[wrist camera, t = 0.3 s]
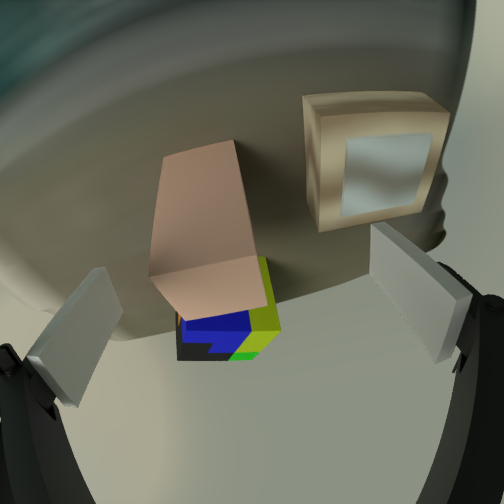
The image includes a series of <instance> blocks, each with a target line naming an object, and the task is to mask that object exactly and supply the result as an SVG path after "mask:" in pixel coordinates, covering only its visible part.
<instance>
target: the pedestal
mask: <svg viewBox="0 0 504 504" xmlns="http://www.w3.org/2000/svg"><path fill="white" fill-rule="evenodd" d="M302 101H303V116H304V135H305V159H306V200H307V205H308V208H309V210H310V213H311V215H312V218H313V220H314V223H315V225H316V228H317V230H318V233H320V232H325V231H330V230H335V229H340V228H345V227H350V226H354V225H359V224H364V223H369V222H374V221H379V220H384V219H389V218H394V217H399V216H404V215H409V214H414V213H419V212H421V211H422V208H423V206H424V203H425V200H426V197H427V194H428V192H429V189H430V186H431V183H432V180H433V177H434V174H435V170H436V167H437V164H438V160H439V157H440V154H441V150H442V146H443V143H444V139H445V135H446V131H447V127H448V123H449V118H450V114H451V113H450V112H449V111H448V110H446V109H445V108H444V107H442V106H441V105H440V104H438V103H437V102H436V101H434V100H433V99H432V98H430V97H429V96H427V95H426V94H424V93H423V92H409V91H353V92H335V93H322V94H311V95H302Z"/></svg>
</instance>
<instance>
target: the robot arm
mask: <svg viewBox="0 0 504 504" xmlns="http://www.w3.org/2000/svg"><path fill="white" fill-rule="evenodd" d="M369 275H370V276H371V277H372V278H373V280H374V281H375V282H376V283H377V285H378V286H379V287H380V288H381V290H382V291H383V292H384V294H385V295H386V296H387V297H388V299H389V300H390V301H391V303H392V304H393V305H394V307H395V308H396V309H397V311H398V312H399V313H400V315H401V316H402V317H403V319H404V320H405V321H406V323H407V324H408V326H409V327H410V328H411V330H412V331H413V333H414V334H415V335H416V337H417V338H418V340H419V341H420V342H421V344H422V345H423V347H424V348H425V350H426V351H427V353H428V354H429V356H430V357H431V358H432V360H433V361H434V363H435V364H437V363H439V362H442V361H444V360H446V359H449V358H451V356H452V354H453V351H454V349H455V346H456V345H457V347H458V348H459V349H460V351H461V353H460V355H459V357H458V360H457V362H456V364H455V366H454V369H453V371H452V373H454V372H455V371H456V376H455V382H454V387H453V392H452V397H451V402H450V406H449V411H448V415H447V419H446V423H445V426H444V430H443V433H442V437H441V440H440V444H439V446H438V449H437V452H436V455H435V458H434V461H433V464H432V467H431V470H430V472H429V475H428V477H427V480H426V482H425V484H424V487H423V489H422V491H421V494H420V496H419V498H418V500H417V502H416V504H500V503H501V499H502V495H503V492H504V299H503V298H501V297H499V296H496V295H490V294H487V295H484V296H483V295H481V294H480V293H479V292H478V291H477V290H476V289H475V288H474V287H473V286H471V285H470V284H469V283H468V282H467V281H466V280H464V279H463V278H462V277H461V276H460V275H459V274H457V273H456V272H455V271H454V270H453V269H452V268H450V267H449V266H447V265H445V264H443V263H441V262H435V261H434V260H433V259H432V258H431V257H429V256H428V255H427V254H426V253H424V252H423V251H422V250H421V249H419V248H418V247H417V246H416V245H414V244H413V243H412V242H411V241H409V240H408V239H407V238H405V237H404V236H403V235H401V234H400V233H399V232H397V231H396V230H395V229H393V228H392V227H391V226H389V225H388V224H387V223H385V222H380V223H373V224H371V242H370V269H369ZM122 313H123V309H122V307H121V304H120V302H119V300H118V297H117V295H116V293H115V290H114V288H113V285H112V283H111V280H110V278H109V275H108V273H107V270H106V268H105V267H100V268H94V269H93V270H92V271H91V272H90V273H89V274H88V275H87V277H86V278H85V279H84V280H83V281H82V282H81V284H80V285H79V286H78V287H77V288H76V290H75V291H74V292H73V293H72V294H71V296H70V297H69V298H68V299H67V301H66V302H65V303H64V304H63V306H62V307H61V308H60V309H59V311H58V312H57V313H56V315H55V316H54V317H53V319H52V320H51V321H50V323H49V324H48V325H47V327H46V328H45V330H44V331H43V332H42V333H41V335H40V336H39V338H38V339H37V340H36V342H35V343H34V345H33V346H32V347H31V349H30V350H29V352H28V353H27V355H26V356H25V358H24V360H23V361H21V359H20V358H19V356H18V355H17V353H16V352H15V350H14V349H13V347H12V346H11V344H9V343H5V344H2V345H1V346H0V418H1V422H0V504H96V503H95V501H94V499H93V497H92V495H91V493H90V491H89V489H88V487H87V485H86V483H85V481H84V478H83V476H82V474H81V472H80V469H79V467H78V464H77V462H76V460H75V457H74V455H73V452H72V449H71V446H70V444H69V441H68V439H67V435H66V432H65V429H64V426H63V423H62V420H61V416H60V413H59V409H58V407H57V405H56V404H55V403H54V400H55V398H56V397H57V398H58V399H59V400H60V401H61V403H62V404H63V405H64V406H68V407H74V408H78V406H79V404H80V401H81V399H82V396H83V394H84V392H85V390H86V388H87V385H88V383H89V381H90V379H91V376H92V374H93V372H94V369H95V368H96V365H97V363H98V361H99V359H100V357H101V355H102V353H103V350H104V349H105V347H106V345H107V342H108V340H109V339H110V337H111V335H112V333H113V331H114V329H115V327H116V325H117V323H118V321H119V319H120V317H121V315H122ZM456 369H457V370H456Z"/></svg>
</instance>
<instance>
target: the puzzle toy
mask: <svg viewBox="0 0 504 504" xmlns="http://www.w3.org/2000/svg"><path fill="white" fill-rule="evenodd" d="M258 259H259V264H260V268H261V273H262V278H263V283H264V288H265V293H266V298H267V303H268V306H264V307H259V308H254V309H249V310H244V311H239V312H234V313H228V314H223V315H217V316H212V317H206V318H200V319H194V320H188V321H185V320H184V319H183V318H182V317H181V316H180V314H179V313H178V312H177V311H176V310H175V311H176V345H177V360H178V361H229V360H230V361H234V360H252V359H253V358H254V357H255V356H256V355H257V354H258V353H259V352H260V351H261V350H262V349H263V348H264V347H265V346H267V345H268V344H269V343H270V342H271V341H272V340H273V338H275V337H276V336H277V335H278V334H279V333H280V332H281V327H280V322H279V317H278V313H277V308H276V303H275V299H274V294H273V290H272V285H271V281H270V276H269V272H268V267H267V262H266V258H265V257H260V256H258Z"/></svg>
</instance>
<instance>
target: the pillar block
mask: <svg viewBox="0 0 504 504" xmlns="http://www.w3.org/2000/svg"><path fill="white" fill-rule="evenodd" d="M148 277H149V279H150V280H151V281H152V282H153V283H154V285H155V286H156V287H157V288H158V290H159V291H160V292H161V293H162V294H163V296H164V297H165V298H166V299H167V300H168V302H169V303H170V304H171V305H172V306H173V308H174V309H175V310H176V311H177V312H178V313H179V314H180V316H181V317H182V318H183V319H184V320H185V321H188V320H194V319H200V318H206V317H212V316H217V315H223V314H228V313H234V312H239V311H244V310H249V309H254V308H259V307H264V306H268V303H267V298H266V293H265V288H264V283H263V278H262V273H261V268H260V264H259V259H258V254H257V249H256V244H255V239H254V234H253V229H252V224H251V219H250V214H249V209H248V204H247V199H246V194H245V190H244V185H243V181H242V176H241V172H240V167H239V163H238V158H237V154H236V149H235V145H234V141H233V140H228V141H224V142H219V143H215V144H211V145H207V146H203V147H199V148H195V149H191V150H187V151H183V152H180V153H176V154H173V155H169V156H166V157H164V159H163V165H162V170H161V176H160V182H159V188H158V195H157V202H156V209H155V217H154V225H153V233H152V242H151V252H150V263H149V276H148Z"/></svg>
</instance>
